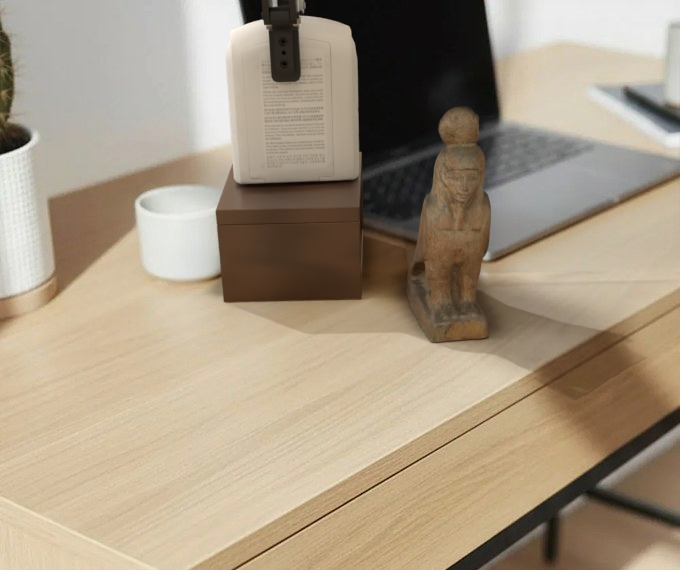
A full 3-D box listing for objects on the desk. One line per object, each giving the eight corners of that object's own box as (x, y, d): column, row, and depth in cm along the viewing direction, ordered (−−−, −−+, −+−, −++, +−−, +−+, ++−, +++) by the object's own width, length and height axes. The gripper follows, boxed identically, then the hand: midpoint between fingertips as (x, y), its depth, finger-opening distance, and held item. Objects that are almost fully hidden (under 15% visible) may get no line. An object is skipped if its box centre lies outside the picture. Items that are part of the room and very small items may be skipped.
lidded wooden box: (363, 235, 108) (361, 151, 104) (361, 299, 95) (359, 206, 91) (241, 237, 108) (235, 154, 104) (223, 302, 96) (215, 210, 92)
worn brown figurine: (487, 368, 90) (509, 143, 77) (414, 370, 90) (424, 146, 77) (469, 279, 98) (486, 64, 86) (402, 281, 98) (409, 65, 85)
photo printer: (358, 168, 100) (354, 8, 93) (362, 183, 96) (357, 18, 90) (234, 174, 99) (221, 15, 93) (233, 189, 96) (219, 24, 89)
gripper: (323, -177, 78) (333, 94, 87) (331, -186, 90) (339, 52, 99) (209, -172, 78) (231, 97, 88) (231, -182, 91) (249, 55, 100)
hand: (288, 72), depth 93 cm, fingers closed on photo printer, 4 cm apart
